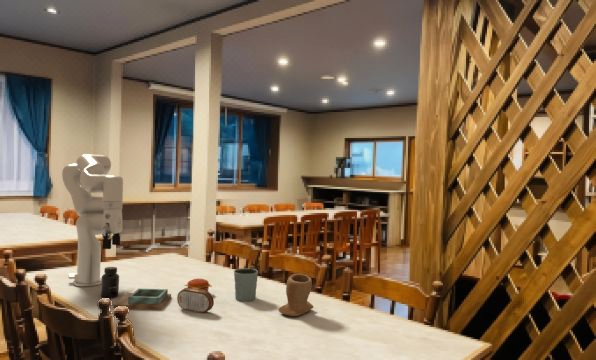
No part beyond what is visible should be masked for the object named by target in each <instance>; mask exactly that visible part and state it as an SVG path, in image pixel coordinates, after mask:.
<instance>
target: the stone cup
mask: <svg viewBox="0 0 596 360" xmlns="http://www.w3.org/2000/svg"><path fill="white" fill-rule="evenodd" d="M287 278H288V279H287V280H286V287H285V293H286V298H287V303H286V304H284V305H282V306H280V307H279V308H278V309H277V310H278V312H279V313H280V314H283V315H286V316H289V317H299V316H301V315H303V314H305V313H307V312H309V311H310V310H312V309H314V305H313V304H312V303H311V302H310V301H308V299H309V296H310V295H311V294H310V293H311V291H312V287H313V280H312V278H311V277H310V276H309V275H308V274H307V275H306V274H304V273H294V274H291V275H289V276H288V277H287Z"/></svg>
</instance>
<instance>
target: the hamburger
mask: <svg viewBox="0 0 596 360" xmlns="http://www.w3.org/2000/svg"><path fill="white" fill-rule="evenodd" d="M183 287H187V288H194V289H201V290H206V291H208V292H209V290H210V289H209V287H210V288H211V287H213V285H211V283H209V281H208V279H204V278H193V279H191V280H189V281H187V283H186V284H184V285H183Z"/></svg>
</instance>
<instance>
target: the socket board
mask: <svg viewBox="0 0 596 360" xmlns="http://www.w3.org/2000/svg"><path fill="white" fill-rule="evenodd" d="M168 291H169V290H168V288H167V289H166V288H137V289H136V290H135V291H134V292H127V293H125V294H124V295H123V296H122V297H120V298H119V299H118V300H117V301H116V302H114V303H113V304H112V309H113V308H116V307H118V306H126V307H128V308H129V309H128V310H152V311H153V310H156V311H161V310H162V309H163V308H164V306H165V305H166V304H167V303H168V302H169V300H170V299H171V298H172V293H169V292H168Z"/></svg>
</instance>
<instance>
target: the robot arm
mask: <svg viewBox="0 0 596 360" xmlns="http://www.w3.org/2000/svg"><path fill="white" fill-rule="evenodd" d="M111 167H112V161H111V159H110V157H108V156H107V155H105V154H91V153H88V154H87V153H84V154H82V155H80V156H78V158H77V159H76V163H71V164H66V165H65V166H64V167H63V168H62V171H61V176H62V182H63V185H64V187H65V189H66V190H67V192H68V193H69V194H70V196H71V200H72V203H73V207H74V211H75V213H76V215H77V216H78V218H77V219H76V222H75V224H76V227H75V228H76V234H77V266H76V267H77V269H76V273H69V274H68V277H67V278H68V279H69V280H72V279H73V282H72V285H73V286H76V287H82V288H84V287H85V288H86V287H94V286H99V285H101V278H102V277H101V258H102V257H101V255H102V253H101V252H102V250H111V249H112V246H120V245H121V232H122V231H123V229H124V228H123V200H124V199H123V196H124V195H123V192H124V178H123V177H122V176H121V175H115V174H108V173H109V172H110V170H111ZM92 193H94V194H95V193H102V196H94V195H92ZM100 235H102V244H101V242H100V240H99V239H98V238H97V236H100Z"/></svg>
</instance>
